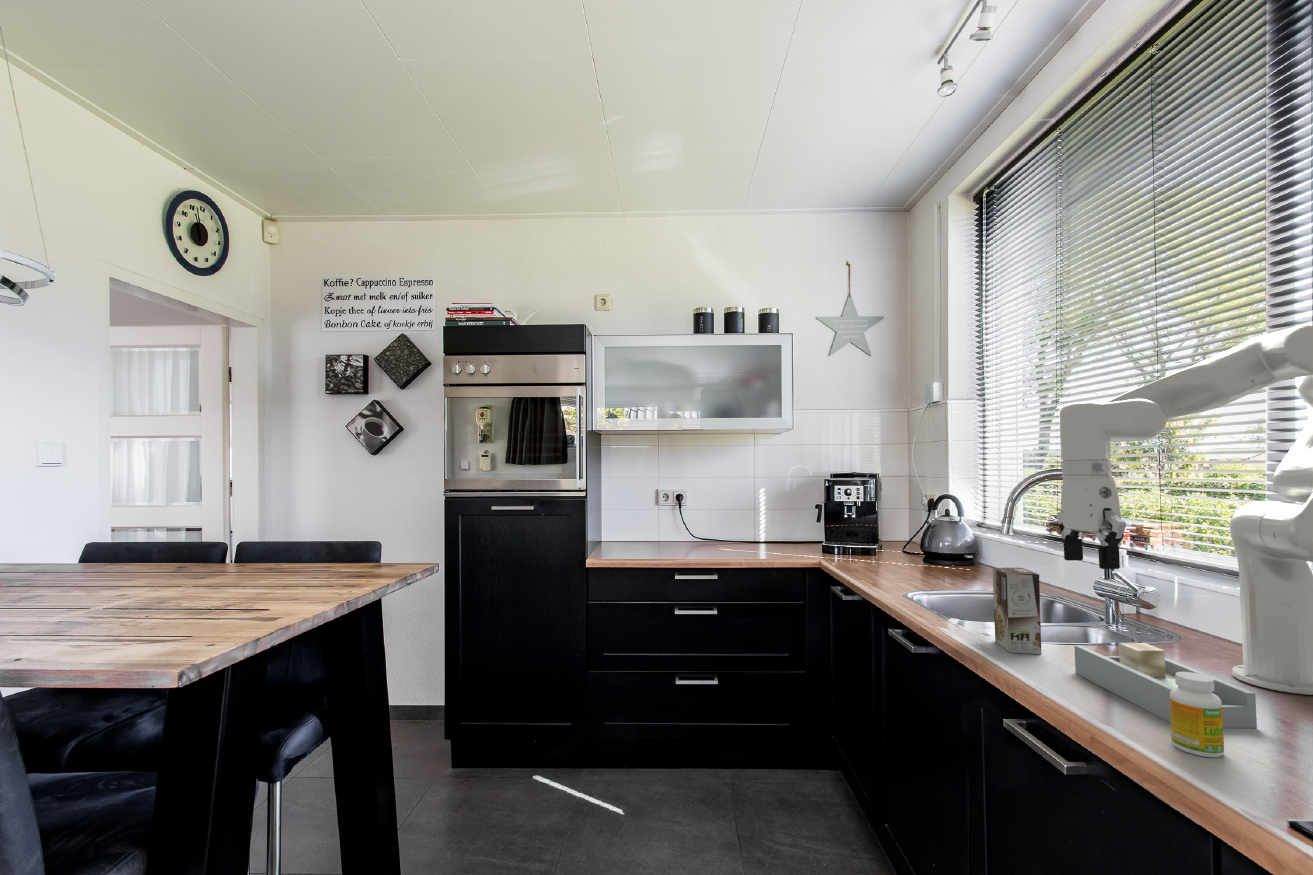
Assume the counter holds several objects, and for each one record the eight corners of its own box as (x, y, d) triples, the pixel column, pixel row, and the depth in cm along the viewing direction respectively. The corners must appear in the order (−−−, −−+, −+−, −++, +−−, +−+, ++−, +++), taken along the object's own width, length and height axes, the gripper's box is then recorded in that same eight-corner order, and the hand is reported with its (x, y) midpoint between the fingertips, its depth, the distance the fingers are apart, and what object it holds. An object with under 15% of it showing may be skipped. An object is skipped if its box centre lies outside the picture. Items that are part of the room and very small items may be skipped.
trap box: (1136, 672, 115) (1135, 645, 115) (1257, 727, 91) (1255, 693, 91) (1075, 672, 116) (1074, 645, 116) (1179, 727, 92) (1177, 692, 92)
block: (1145, 668, 108) (1144, 643, 109) (1165, 677, 104) (1164, 650, 104) (1119, 668, 109) (1118, 642, 109) (1138, 677, 104) (1137, 650, 104)
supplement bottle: (1210, 761, 81) (1207, 685, 82) (1162, 744, 86) (1159, 673, 86) (1233, 753, 83) (1229, 679, 84) (1185, 737, 88) (1182, 667, 89)
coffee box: (1043, 654, 126) (1040, 574, 127) (1008, 653, 128) (1006, 573, 128) (1026, 642, 135) (1023, 566, 136) (993, 640, 137) (991, 566, 137)
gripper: (1142, 469, 106) (1148, 572, 105) (1076, 469, 123) (1081, 556, 122) (1097, 470, 106) (1102, 572, 105) (1037, 470, 123) (1042, 557, 123)
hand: (1090, 564), depth 114 cm, fingers open, 9 cm apart
